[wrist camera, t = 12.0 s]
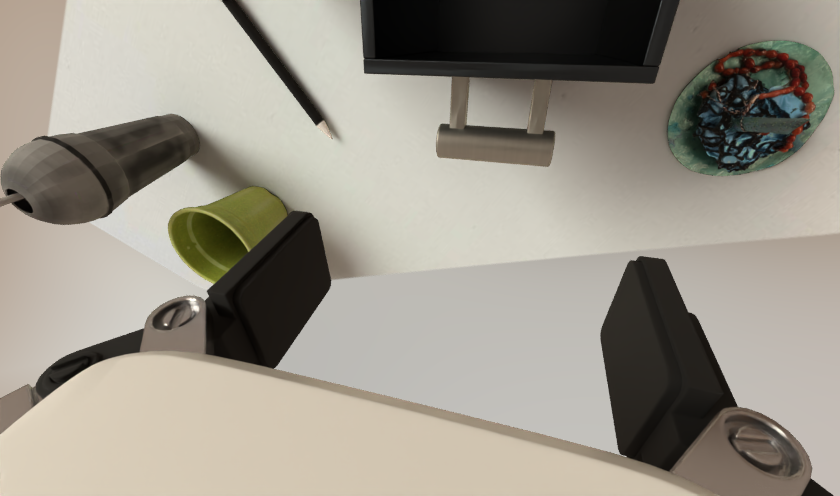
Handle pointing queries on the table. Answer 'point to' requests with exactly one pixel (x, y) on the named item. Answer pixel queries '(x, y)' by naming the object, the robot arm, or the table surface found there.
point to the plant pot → (224, 230)
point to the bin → (514, 56)
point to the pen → (276, 64)
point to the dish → (750, 108)
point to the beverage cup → (94, 168)
